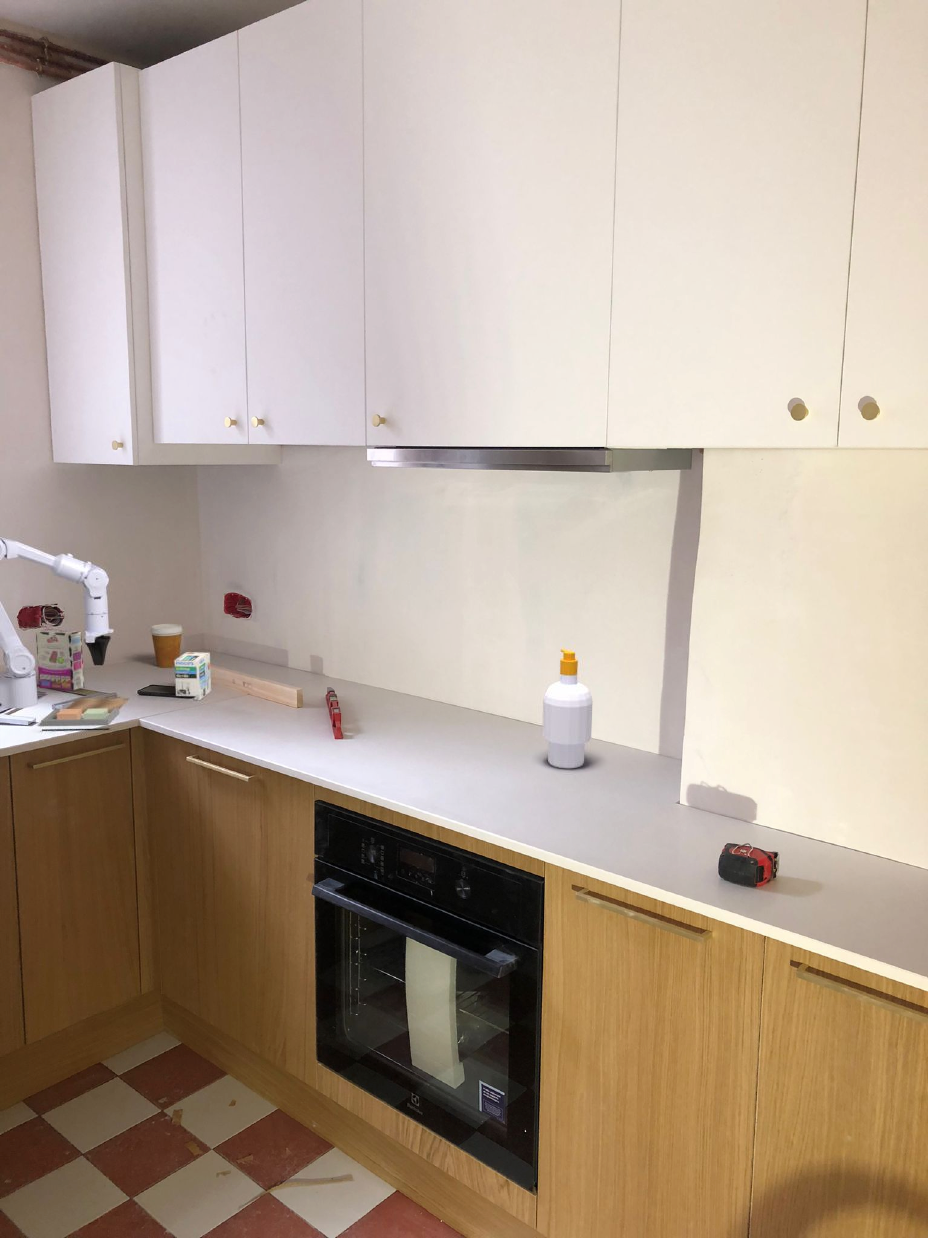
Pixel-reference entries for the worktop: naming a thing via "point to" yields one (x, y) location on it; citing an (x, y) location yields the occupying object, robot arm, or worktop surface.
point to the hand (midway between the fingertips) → (99, 664)
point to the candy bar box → (60, 659)
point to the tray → (77, 721)
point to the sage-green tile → (95, 714)
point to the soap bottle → (567, 716)
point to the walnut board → (98, 704)
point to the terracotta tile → (69, 714)
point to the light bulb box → (193, 675)
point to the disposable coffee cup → (166, 643)
